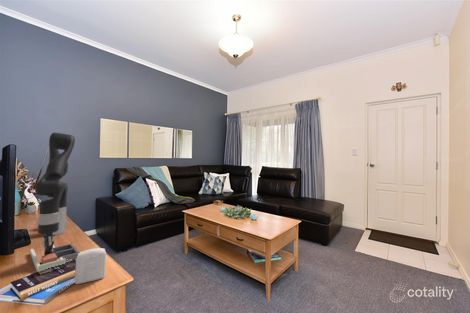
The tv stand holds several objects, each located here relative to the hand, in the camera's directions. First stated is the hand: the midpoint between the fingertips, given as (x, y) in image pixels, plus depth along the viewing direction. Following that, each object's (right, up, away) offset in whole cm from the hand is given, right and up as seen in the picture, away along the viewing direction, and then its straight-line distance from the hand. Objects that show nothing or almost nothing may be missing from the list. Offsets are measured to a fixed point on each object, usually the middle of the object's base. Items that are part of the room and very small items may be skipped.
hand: (47, 258), depth 99 cm
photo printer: (+31, -2, -14) cm, 34 cm away
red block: (+4, -2, -3) cm, 5 cm away
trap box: (+1, -2, +4) cm, 4 cm away
